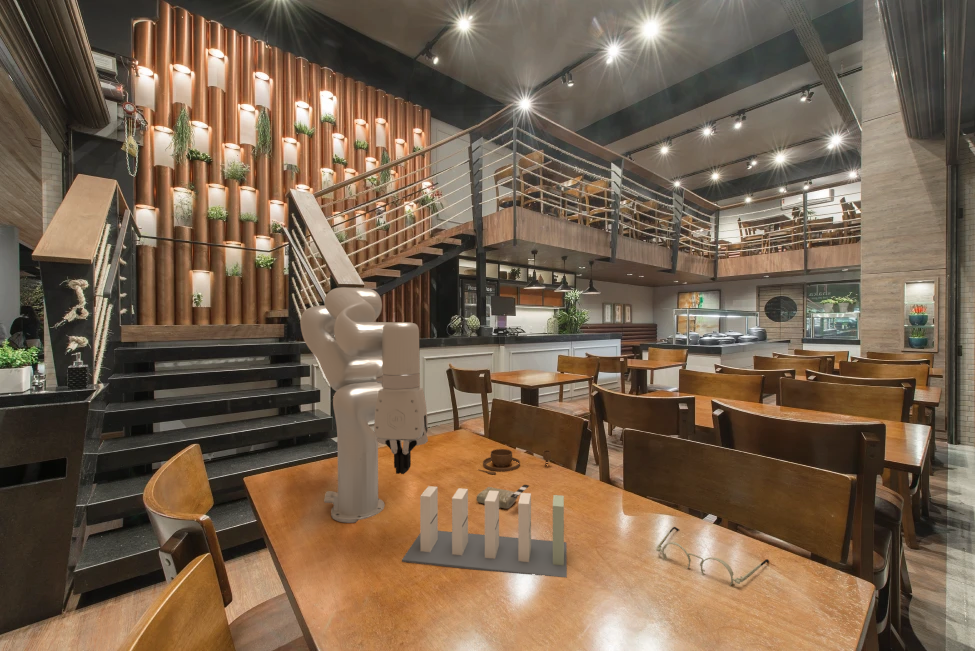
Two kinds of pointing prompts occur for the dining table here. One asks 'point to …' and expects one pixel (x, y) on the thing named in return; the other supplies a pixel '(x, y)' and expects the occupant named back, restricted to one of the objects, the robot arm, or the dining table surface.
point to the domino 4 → (524, 527)
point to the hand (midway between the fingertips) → (402, 471)
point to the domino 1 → (429, 518)
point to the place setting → (506, 460)
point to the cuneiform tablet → (502, 496)
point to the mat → (476, 558)
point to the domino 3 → (491, 524)
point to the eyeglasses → (737, 580)
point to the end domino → (558, 530)
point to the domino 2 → (459, 521)
